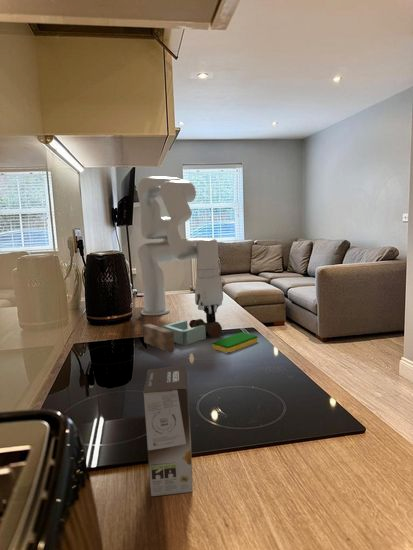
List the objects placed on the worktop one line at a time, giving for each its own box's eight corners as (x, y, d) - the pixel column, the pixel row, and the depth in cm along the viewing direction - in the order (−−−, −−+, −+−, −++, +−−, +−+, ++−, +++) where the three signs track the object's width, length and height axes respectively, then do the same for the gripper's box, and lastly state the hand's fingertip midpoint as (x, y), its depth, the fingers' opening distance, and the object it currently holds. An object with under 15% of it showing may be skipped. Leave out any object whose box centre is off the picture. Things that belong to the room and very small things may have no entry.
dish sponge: (212, 349, 118) (211, 342, 118) (242, 338, 127) (241, 331, 127) (228, 354, 113) (227, 346, 112) (258, 342, 122) (258, 335, 122)
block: (163, 338, 130) (162, 325, 130) (185, 332, 137) (184, 320, 136) (183, 345, 122) (182, 332, 121) (205, 338, 128) (205, 325, 127)
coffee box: (194, 492, 55) (188, 389, 53) (150, 497, 55) (142, 392, 52) (191, 454, 64) (186, 364, 62) (153, 458, 64) (146, 368, 61)
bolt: (194, 332, 142) (218, 340, 130) (184, 328, 139) (207, 336, 127) (200, 318, 143) (224, 324, 131) (189, 314, 140) (213, 319, 128)
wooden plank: (144, 342, 127) (142, 325, 126) (150, 340, 129) (149, 323, 128) (168, 351, 116) (166, 333, 116) (174, 349, 118) (173, 331, 117)
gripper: (216, 270, 142) (219, 317, 144) (185, 275, 132) (188, 326, 135) (230, 271, 136) (233, 320, 139) (199, 277, 126) (202, 329, 129)
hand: (211, 323), depth 137 cm, fingers closed
